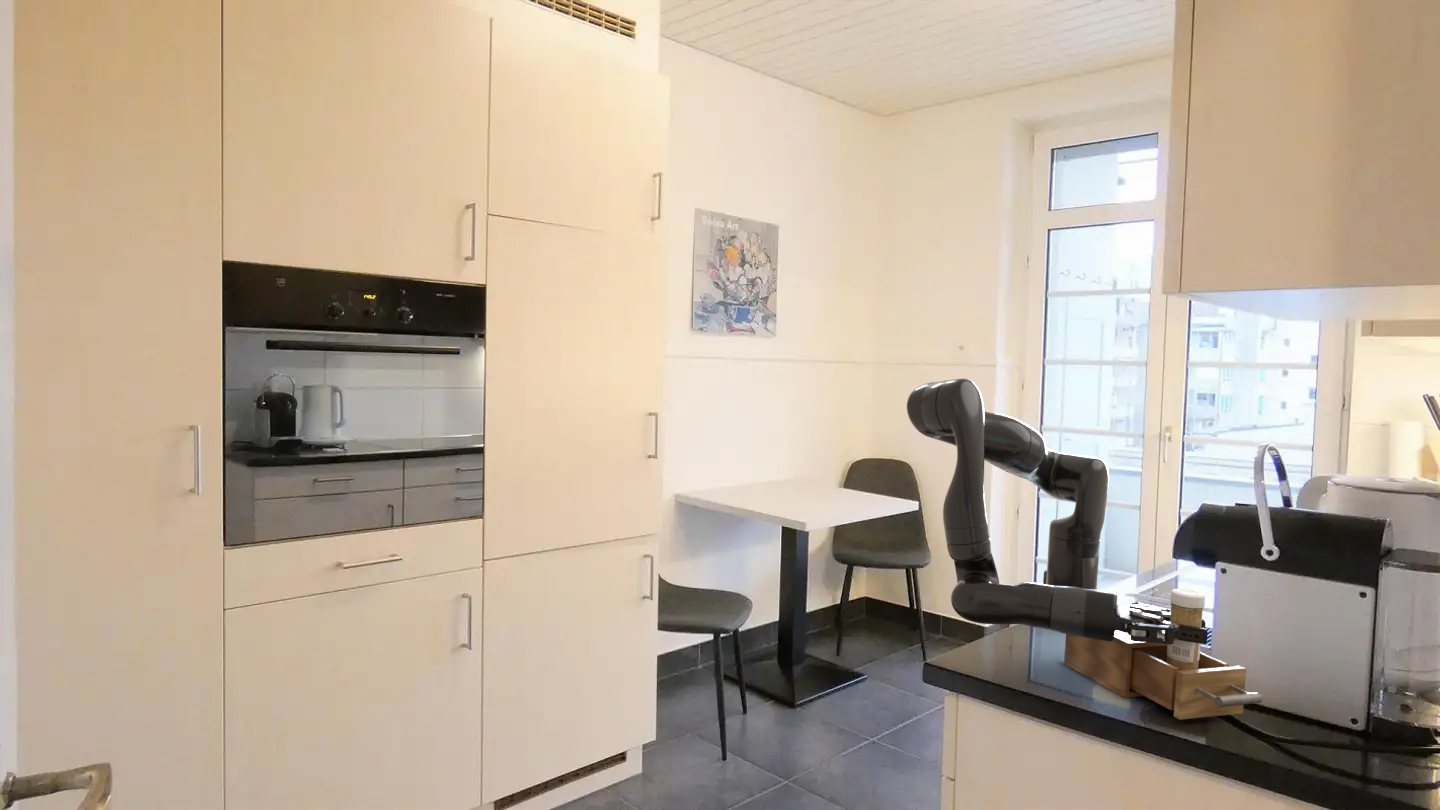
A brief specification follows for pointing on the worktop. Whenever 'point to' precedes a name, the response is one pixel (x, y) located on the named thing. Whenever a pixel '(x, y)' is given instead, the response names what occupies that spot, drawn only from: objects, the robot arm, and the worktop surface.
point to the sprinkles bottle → (1188, 613)
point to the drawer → (1190, 684)
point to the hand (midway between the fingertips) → (1205, 631)
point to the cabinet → (1105, 660)
